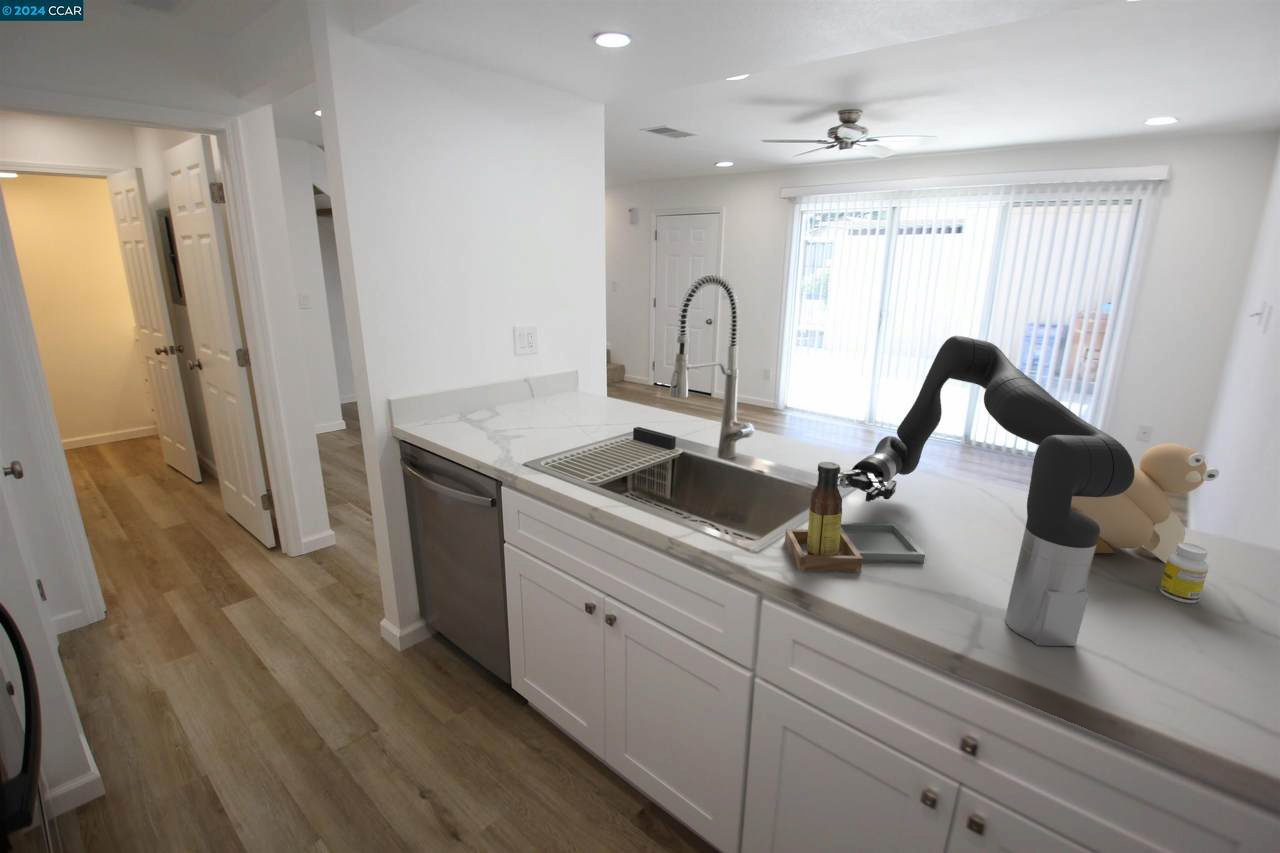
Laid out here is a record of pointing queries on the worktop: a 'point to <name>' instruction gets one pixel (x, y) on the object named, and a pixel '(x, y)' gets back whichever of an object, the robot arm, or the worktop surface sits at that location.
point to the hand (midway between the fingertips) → (847, 491)
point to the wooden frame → (823, 562)
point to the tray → (882, 543)
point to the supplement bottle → (1185, 573)
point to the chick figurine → (1148, 502)
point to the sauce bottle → (825, 512)
